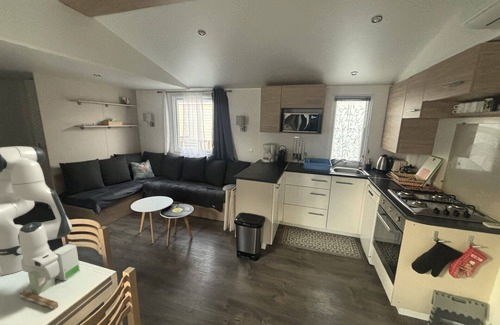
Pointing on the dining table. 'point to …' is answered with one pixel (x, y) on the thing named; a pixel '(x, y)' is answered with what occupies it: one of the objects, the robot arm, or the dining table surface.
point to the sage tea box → (39, 283)
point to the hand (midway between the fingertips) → (42, 281)
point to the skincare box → (67, 261)
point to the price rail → (39, 300)
